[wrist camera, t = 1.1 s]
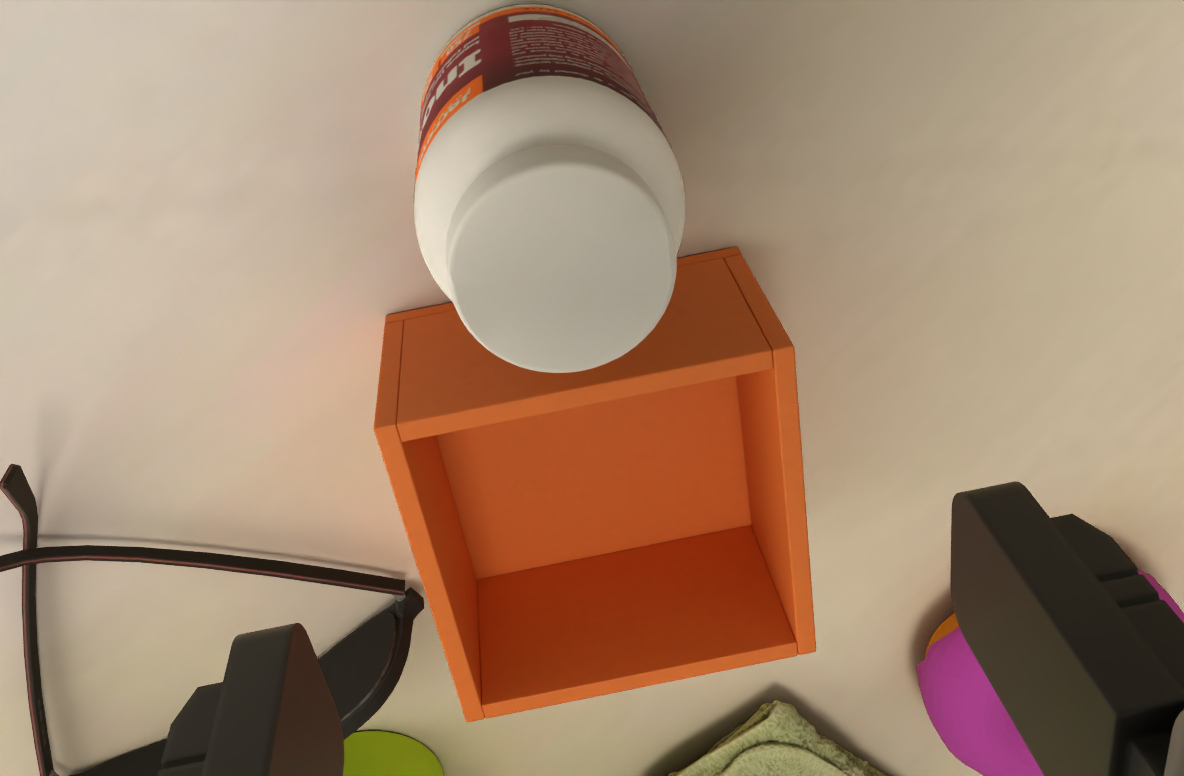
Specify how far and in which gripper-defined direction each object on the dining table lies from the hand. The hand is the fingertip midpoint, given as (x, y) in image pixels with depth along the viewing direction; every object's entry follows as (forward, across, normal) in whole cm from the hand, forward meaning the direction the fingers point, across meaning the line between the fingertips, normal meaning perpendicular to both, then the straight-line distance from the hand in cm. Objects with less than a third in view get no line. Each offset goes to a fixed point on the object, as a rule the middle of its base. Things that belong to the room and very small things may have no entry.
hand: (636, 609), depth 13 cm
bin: (+21, 0, +11) cm, 24 cm away
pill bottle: (+21, 0, 0) cm, 21 cm away
